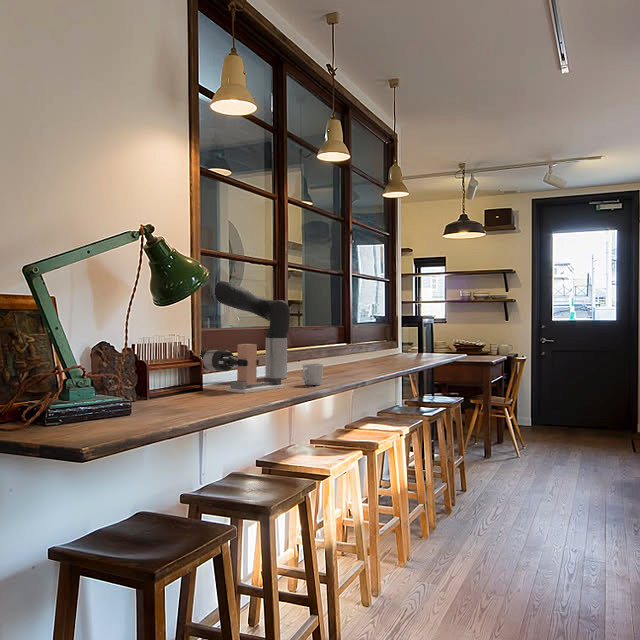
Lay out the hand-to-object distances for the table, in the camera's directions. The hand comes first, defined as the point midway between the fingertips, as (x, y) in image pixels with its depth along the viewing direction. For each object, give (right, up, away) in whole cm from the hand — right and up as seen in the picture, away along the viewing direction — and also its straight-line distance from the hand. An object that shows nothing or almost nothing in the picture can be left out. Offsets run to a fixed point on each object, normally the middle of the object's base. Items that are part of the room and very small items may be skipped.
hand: (252, 362), depth 210 cm
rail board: (+1, -10, +6) cm, 11 cm away
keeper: (-2, -8, +2) cm, 8 cm away
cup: (+20, -10, +20) cm, 30 cm away
